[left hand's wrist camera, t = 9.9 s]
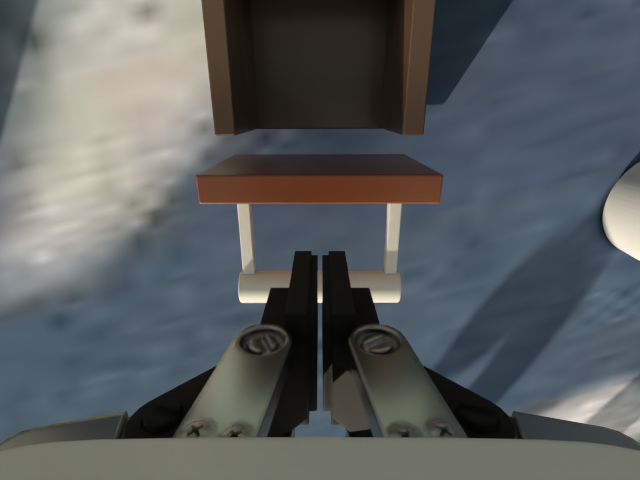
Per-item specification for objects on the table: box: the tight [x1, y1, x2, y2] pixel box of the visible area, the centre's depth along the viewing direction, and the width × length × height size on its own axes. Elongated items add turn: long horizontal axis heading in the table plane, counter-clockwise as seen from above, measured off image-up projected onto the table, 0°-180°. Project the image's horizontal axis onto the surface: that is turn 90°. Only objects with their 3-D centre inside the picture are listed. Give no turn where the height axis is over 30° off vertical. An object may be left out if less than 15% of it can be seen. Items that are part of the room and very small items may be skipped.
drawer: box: [196, 0, 443, 303], centre depth 16 cm, size 24×10×7 cm, turn 0°
